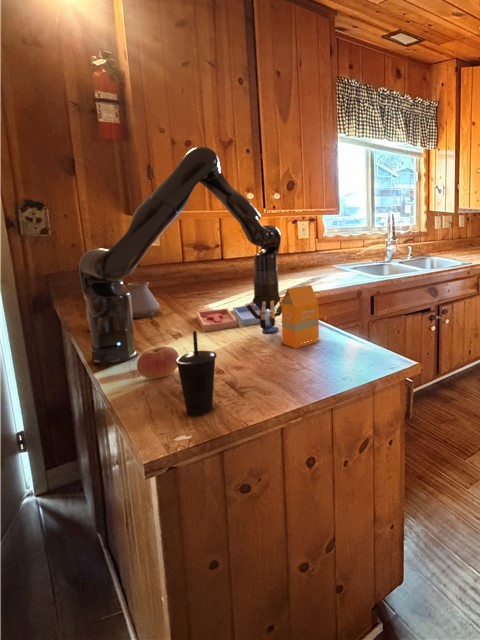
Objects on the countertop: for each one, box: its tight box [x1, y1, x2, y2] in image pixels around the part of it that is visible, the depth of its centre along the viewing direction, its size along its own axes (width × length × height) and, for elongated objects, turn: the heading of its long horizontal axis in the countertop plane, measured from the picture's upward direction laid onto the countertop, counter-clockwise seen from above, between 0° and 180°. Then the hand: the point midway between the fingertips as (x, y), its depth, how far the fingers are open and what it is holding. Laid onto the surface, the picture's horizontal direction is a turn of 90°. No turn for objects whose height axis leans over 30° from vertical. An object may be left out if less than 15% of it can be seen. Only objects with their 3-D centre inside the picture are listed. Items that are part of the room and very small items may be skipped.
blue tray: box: [232, 304, 270, 327], centre depth 166 cm, size 19×10×2 cm, turn 43°
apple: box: [136, 345, 180, 380], centre depth 113 cm, size 9×9×8 cm
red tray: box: [196, 307, 238, 333], centre depth 157 cm, size 19×10×2 cm, turn 43°
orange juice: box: [281, 284, 320, 349], centre depth 141 cm, size 8×9×20 cm
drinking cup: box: [175, 330, 218, 417], centre depth 96 cm, size 8×8×20 cm
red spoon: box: [206, 313, 222, 323], centre depth 158 cm, size 14×5×2 cm, turn 44°
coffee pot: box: [80, 281, 160, 318], centre depth 157 cm, size 21×12×15 cm, turn 133°
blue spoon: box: [261, 319, 280, 335], centre depth 147 cm, size 14×5×2 cm, turn 43°
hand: (267, 328), depth 147 cm, fingers closed on blue spoon, 2 cm apart
